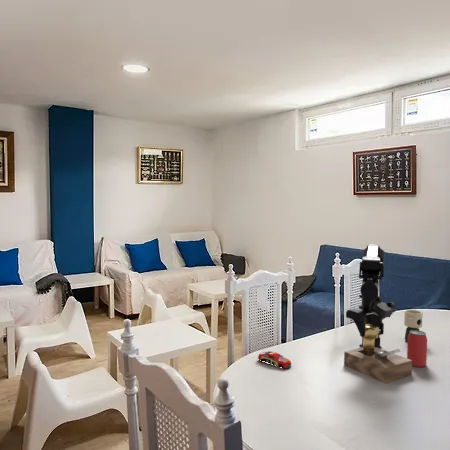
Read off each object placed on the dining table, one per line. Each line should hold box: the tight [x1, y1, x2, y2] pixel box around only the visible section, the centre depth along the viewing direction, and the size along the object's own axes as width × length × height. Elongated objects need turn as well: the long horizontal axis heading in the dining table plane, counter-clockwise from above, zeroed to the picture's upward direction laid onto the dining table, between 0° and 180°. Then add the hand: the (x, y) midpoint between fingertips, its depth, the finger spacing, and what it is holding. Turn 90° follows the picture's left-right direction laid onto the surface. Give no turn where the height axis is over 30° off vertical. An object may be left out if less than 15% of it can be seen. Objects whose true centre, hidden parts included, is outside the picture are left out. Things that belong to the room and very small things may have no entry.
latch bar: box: [378, 348, 401, 358], centre depth 149 cm, size 8×3×2 cm, turn 31°
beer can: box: [406, 330, 428, 368], centre depth 159 cm, size 7×7×12 cm
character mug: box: [403, 309, 423, 341], centre depth 185 cm, size 11×7×13 cm, turn 140°
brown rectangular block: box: [343, 346, 413, 384], centre depth 153 cm, size 18×14×7 cm
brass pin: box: [359, 324, 379, 351], centre depth 156 cm, size 6×6×8 cm
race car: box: [257, 350, 292, 369], centre depth 158 cm, size 13×5×4 cm, turn 49°
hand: (368, 335), depth 156 cm, fingers closed on brass pin, 6 cm apart
